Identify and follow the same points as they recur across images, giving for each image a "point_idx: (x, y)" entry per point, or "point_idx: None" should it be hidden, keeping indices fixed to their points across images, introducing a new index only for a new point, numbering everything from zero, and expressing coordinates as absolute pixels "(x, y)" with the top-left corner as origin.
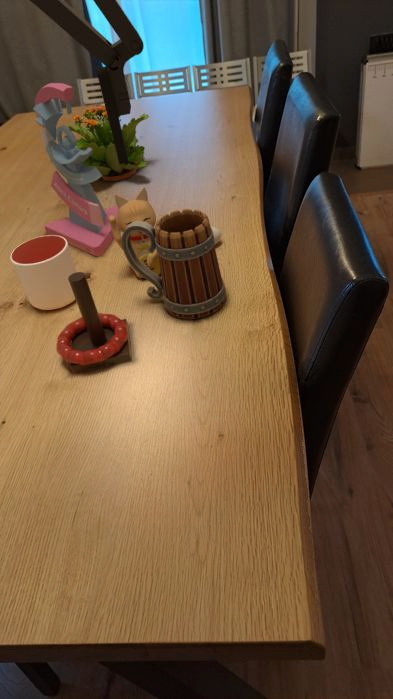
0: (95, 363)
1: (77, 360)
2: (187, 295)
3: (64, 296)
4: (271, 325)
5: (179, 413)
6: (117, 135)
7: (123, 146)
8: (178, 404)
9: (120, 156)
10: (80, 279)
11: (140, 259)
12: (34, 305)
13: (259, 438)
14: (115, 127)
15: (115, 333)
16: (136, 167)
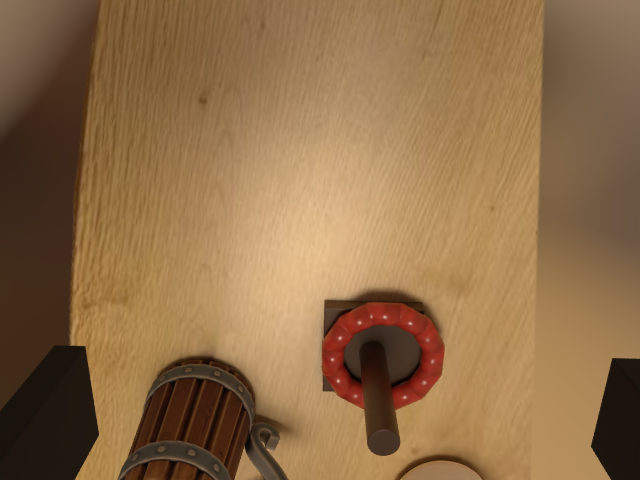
0: None
1: (410, 310)
2: (204, 392)
3: (423, 475)
4: (86, 305)
5: (260, 164)
6: (24, 401)
7: (32, 376)
8: (260, 183)
9: (65, 360)
10: (376, 431)
11: None
12: (478, 476)
13: (145, 77)
14: (9, 420)
15: (341, 349)
16: None
